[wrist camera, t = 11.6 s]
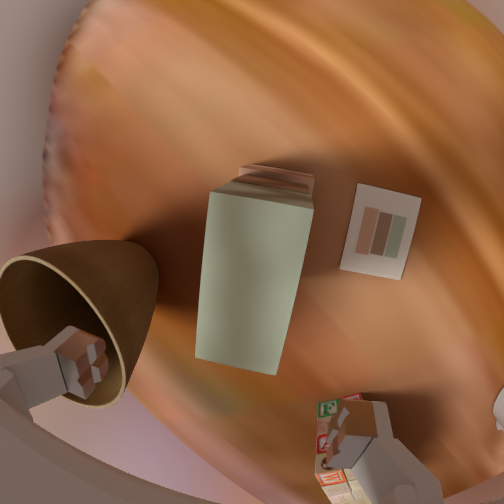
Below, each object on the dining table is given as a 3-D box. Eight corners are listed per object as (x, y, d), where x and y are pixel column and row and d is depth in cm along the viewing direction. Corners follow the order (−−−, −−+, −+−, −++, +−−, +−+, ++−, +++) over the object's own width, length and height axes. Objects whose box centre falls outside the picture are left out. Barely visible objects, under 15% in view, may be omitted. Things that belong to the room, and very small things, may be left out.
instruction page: (421, 198, 28) (422, 198, 28) (399, 279, 31) (400, 280, 31) (357, 182, 29) (358, 183, 28) (339, 268, 32) (339, 269, 31)
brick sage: (311, 194, 19) (314, 209, 14) (282, 331, 22) (275, 375, 18) (232, 181, 19) (209, 191, 15) (215, 317, 23) (195, 357, 18)
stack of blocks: (379, 464, 41) (385, 520, 30) (345, 472, 43) (346, 528, 32) (360, 390, 36) (371, 464, 25) (315, 402, 38) (314, 476, 26)
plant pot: (101, 320, 39) (31, 389, 24) (77, 215, 35) (-21, 256, 20) (199, 329, 37) (146, 426, 22) (183, 206, 32) (91, 255, 17)
